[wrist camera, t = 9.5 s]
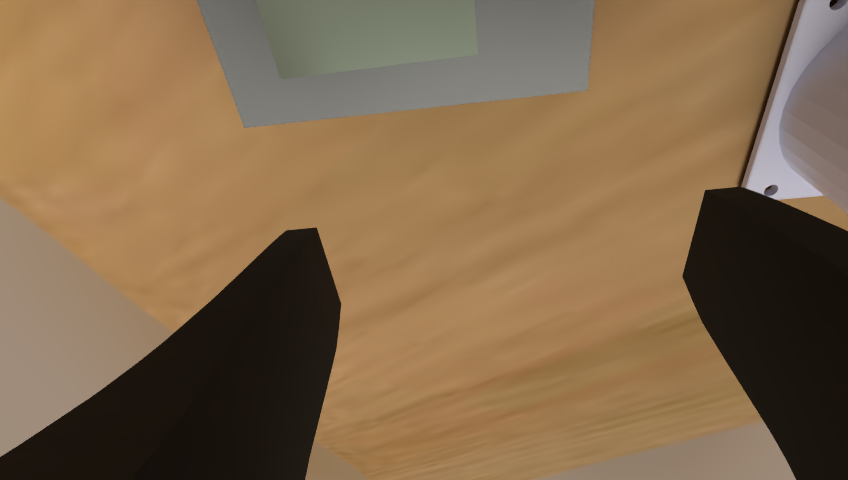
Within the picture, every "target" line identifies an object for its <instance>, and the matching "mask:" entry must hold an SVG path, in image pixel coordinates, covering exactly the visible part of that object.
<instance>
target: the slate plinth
mask: <svg viewBox="0 0 848 480" xmlns="http://www.w3.org/2000/svg"><path fill="white" fill-rule="evenodd" d="M197 2H198V5H199V7H200V10H201V13H202V15H203V18H204V21H205V23H206V26H207V29H208V32H209V34H210V37H211V40H212V42H213V45H214V48H215V50H216V53H217V56H218V58H219V61H220V64H221V66H222V69H223V72H224V74H225V77H226V80H227V82H228V85H229V88H230V90H231V93H232V96H233V98H234V101H235V104H236V107H237V109H238V112H239V115H240V117H241V120H242V123H243V125H244V128H247V127H257V126H266V125H275V124H284V123H293V122H303V121H312V120H321V119H330V118H339V117H349V116H358V115H367V114H376V113H385V112H395V111H404V110H413V109H422V108H431V107H441V106H450V105H459V104H468V103H477V102H487V101H496V100H505V99H514V98H523V97H533V96H542V95H551V94H560V93H569V92H579V91H588V79H589V66H590V54H591V41H592V29H593V16H594V4H595V0H475V16H476V32H477V48H478V55H471V56H463V57H455V58H447V59H439V60H431V61H423V62H415V63H407V64H399V65H391V66H383V67H375V68H367V69H360V70H352V71H344V72H336V73H328V74H320V75H312V76H304V77H296V78H288V79H280V76H279V73H278V69H277V66H276V63H275V60H274V57H273V53H272V50H271V47H270V44H269V40H268V37H267V34H266V31H265V28H264V24H263V21H262V18H261V15H260V12H259V8H258V5H257V2H256V0H197Z"/></svg>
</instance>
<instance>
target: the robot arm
mask: <svg viewBox="0 0 848 480" xmlns="http://www.w3.org/2000/svg"><path fill="white" fill-rule="evenodd" d="M830 1H831V0H800V1H799V3H798V6H797V10H796V13H795V16H794V19H793V22H792V26H791V29H790V32H789V35H788V38H787V42H786V45H785V48H784V51H783V54H782V58H781V61H780V64H779V67H778V70H777V74H776V77H775V80H774V83H773V86H772V89H771V93H770V96H769V99H768V102H767V105H766V109H765V112H764V115H763V118H762V121H761V125H760V128H759V131H758V134H757V137H756V141H755V144H754V147H753V150H752V153H751V157H750V160H749V163H748V166H747V169H746V173H745V176H744V179H743V182H742V185H741V187H733V188H723V189H713V190H705V193H704V197H703V201H702V204H701V208H700V212H699V216H698V219H697V223H696V227H695V231H694V235H693V238H692V242H691V246H690V250H689V254H688V257H687V261H686V265H685V269H684V272H683V279H684V281H685V284H686V286H687V288H688V291H689V293H690V296H691V298H692V301H693V303H694V305H695V307H696V309H697V312H698V314H699V316H700V318H701V320H702V323H703V324H704V326H705V328H706V329H707V331H708V333H709V334H710V336H711V338H712V339H713V341H714V342H715V344H716V346H717V347H718V349H719V351H720V352H721V354H722V355H723V357H724V359H725V360H726V362H727V364H728V365H729V367H730V368H731V370H732V371H733V373H734V375H735V376H736V378H737V379H738V381H739V383H740V384H741V386H742V387H743V389H744V391H745V392H746V394H747V395H748V397H749V398H750V400H751V402H752V403H753V405H754V406H755V408H756V410H757V411H758V413H759V414H760V416H761V418H762V419H763V421H764V422H765V424H766V425H767V427H768V429H769V430H770V432H771V434H772V435H773V437H774V439H775V441H776V442H777V444H778V446H779V448H780V449H781V451H782V453H783V455H784V456H785V458H786V460H787V462H788V464H789V466H790V468H791V470H792V472H793V474H794V476H795V478H796V480H848V231H846V230H844V229H842V228H839V227H837V226H835V225H833V224H830V223H828V222H826V221H824V220H821V219H819V218H817V217H814V216H812V215H810V214H808V213H805V212H803V211H801V210H799V209H796V208H794V207H792V206H789V205H787V204H785V203H782V202H780V201H778V199H790V198H802V197H815V196H826V197H827V198H828V199H829V200H831V201H832V202H833V203H834V204H836V205H837V206H838V207H839V208H841V209H842V210H843V211H844V212H846V213H847V214H848V0H838V1H837V3H836V4H834V5H833V6H832V7H829V5H830ZM771 185H772V187H771V188H770V189H769V190H767V191H764V190H765V189H766V188H767V187H768V186H771ZM340 310H341V302H340V299H339V296H338V293H337V290H336V286H335V283H334V280H333V277H332V274H331V271H330V268H329V265H328V262H327V258H326V255H325V252H324V249H323V246H322V243H321V240H320V237H319V234H318V230H317V228H308V229H297V230H287V231H285V232H284V233H283V234H282V235H280V236H279V237H278V238H277V239H276V240H275V241H274V242H273V243H271V244H270V245H269V246H268V247H267V248H266V249H265V250H264V251H263V252H262V253H261V254H260V255H259V256H258V257H257V258H256V259H255V260H254V261H253V262H252V263H250V264H249V265H248V266H247V267H246V268H245V269H244V270H243V271H242V272H241V273H240V274H239V275H238V276H237V277H236V278H235V279H234V280H233V281H232V282H230V283H229V284H228V285H227V286H226V287H225V288H224V289H223V290H222V291H221V292H220V293H219V294H218V295H217V296H216V297H215V298H213V299H212V300H211V301H210V302H209V303H208V304H207V305H206V306H204V307H203V308H202V309H201V310H200V311H199V312H198V313H196V314H195V315H194V316H193V317H192V318H191V319H190V320H188V321H187V322H186V323H185V324H184V325H183V326H181V327H180V328H179V329H178V330H177V331H176V332H175V333H173V334H172V335H171V336H170V337H169V338H168V339H167V340H166V341H164V342H163V343H162V344H161V345H159V346H158V347H157V348H156V349H154V350H153V351H152V352H151V353H149V354H148V355H147V356H146V357H144V358H143V359H142V360H141V361H139V362H138V363H137V364H135V365H134V366H133V367H132V368H130V369H129V370H127V371H126V372H125V373H123V374H122V375H121V376H119V377H118V378H117V379H115V380H114V381H113V382H111V383H110V384H109V385H107V386H106V387H105V388H103V389H102V390H101V391H99V392H98V393H96V394H95V395H93V396H92V397H91V398H89V399H88V400H86V401H85V402H83V403H82V404H80V405H79V406H77V407H76V408H74V409H73V410H71V411H70V412H68V413H67V414H65V415H64V416H62V417H61V418H59V419H58V420H56V421H55V422H53V423H52V424H50V425H49V426H47V427H46V428H44V429H43V430H42V431H40V432H38V433H37V434H35V435H34V436H33V437H31V438H29V439H28V440H26V441H25V442H23V443H22V444H20V445H19V446H17V447H16V448H14V449H12V450H11V451H9V452H8V453H6V454H4V455H3V456H1V457H0V480H305V477H306V472H307V467H308V463H309V457H310V453H311V449H312V445H313V441H314V437H315V433H316V429H317V425H318V421H319V417H320V413H321V409H322V405H323V402H324V398H325V394H326V390H327V386H328V381H329V377H330V373H331V369H332V365H333V361H334V356H335V352H336V347H337V339H338V330H339V321H340Z"/></svg>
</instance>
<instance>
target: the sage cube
mask: <svg viewBox="0 0 848 480" xmlns="http://www.w3.org/2000/svg"><path fill="white" fill-rule="evenodd" d="M256 2H257V5H258V8H259V12H260V15H261V18H262V21H263V24H264V28H265V31H266V34H267V37H268V40H269V44H270V47H271V50H272V53H273V57H274V60H275V63H276V66H277V69H278V73H279V76H280V79H288V78H296V77H304V76H312V75H320V74H328V73H336V72H344V71H352V70H360V69H367V68H375V67H383V66H391V65H399V64H407V63H415V62H423V61H431V60H439V59H447V58H455V57H463V56H471V55H478V48H477V32H476V16H475V0H256Z"/></svg>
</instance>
